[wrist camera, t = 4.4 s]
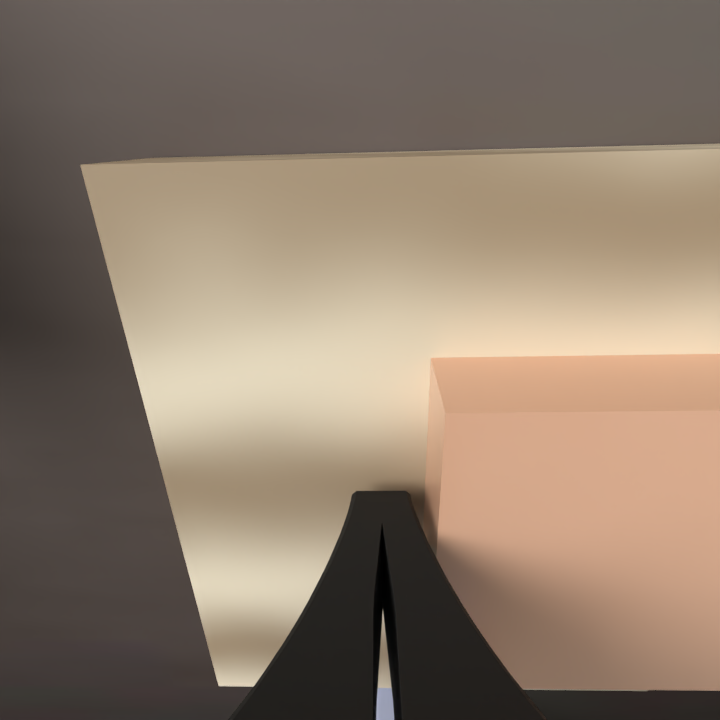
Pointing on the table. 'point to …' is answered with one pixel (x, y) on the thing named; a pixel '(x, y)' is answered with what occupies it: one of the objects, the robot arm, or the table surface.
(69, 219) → the table surface
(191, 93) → the table surface
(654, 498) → the peach flat block
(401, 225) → the riser
